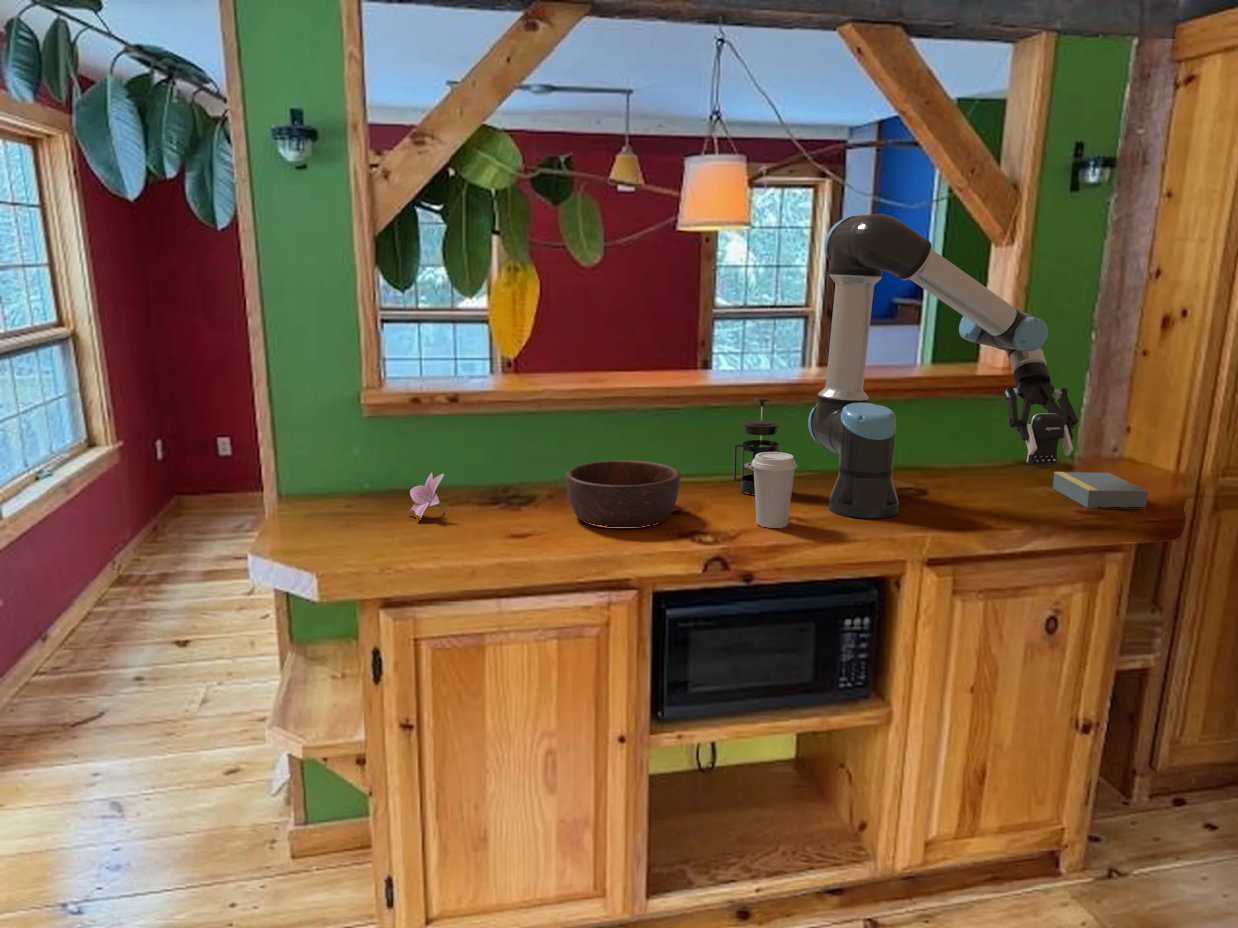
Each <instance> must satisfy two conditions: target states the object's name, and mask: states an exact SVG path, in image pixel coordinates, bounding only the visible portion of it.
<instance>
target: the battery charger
mask: <svg viewBox="0 0 1238 928" xmlns="http://www.w3.org/2000/svg"><path fill="white" fill-rule="evenodd" d="M1029 424H1031V426H1032V430H1033V433H1034V437H1035V441H1036V445H1037V449H1036V451H1035V452H1034V454H1033V455H1029V452H1028V448H1027V447H1026V448H1027V449H1026V457H1025V463H1027V464H1031V465H1035V466H1036V465H1037V466H1041V465H1043V466H1045V465H1047V466H1049V465H1057V464H1058V455H1057V454H1058V453H1057V451H1058V447H1059V446H1058V445H1059V441H1060V438H1063V435H1064V425H1065V421H1064V418H1063V417H1062V416H1060V415H1057V414H1053V413H1049V412H1048V413H1045V412H1044V413H1043V412H1042V413H1035V414H1034V415H1031V418H1030V421H1029Z"/></svg>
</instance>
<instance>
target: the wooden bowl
mask: <svg viewBox="0 0 1238 928" xmlns="http://www.w3.org/2000/svg"><path fill="white" fill-rule="evenodd" d="M565 483H566V491H567V496H568V500H569V503H570V506H571V508H572V510H573V513H574V514H575V516H576V517H577V518H578V519H579V520H580V521H581V520H582V521H585V522H587V523H591V524H595V525H602V526H607V527H642V526H647V525H653V524H656V523H660V522H662V521H664V520H665V521H667V520H668V518H670V515H671V514H672V512H673V510H674V509H675V505H676V503H677V499H678V495H679V491H680V490H679V489H680V483H681V472H680V471H679V470H678V469H677V468H675V467H674V466H671V465H668V464H664V463H660V462H653V461H647V460H646V461H645V460H631V459H629V460H628V459H626V460H625V459H624V460H621V459H620V460H619V459H617V460H613V459H612V460H602V461H595V462H594V461H593V462H587V463H583V464H579V465H576V466H574V467H572V468H570V469H568V470H567V471H566V473H565ZM582 521H581V522H582ZM665 521H664V522H665ZM662 523H663V522H662ZM660 524H661V523H660Z"/></svg>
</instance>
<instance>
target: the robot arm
mask: <svg viewBox="0 0 1238 928" xmlns="http://www.w3.org/2000/svg"><path fill="white" fill-rule="evenodd" d="M824 253H825V256H826V259H827V260H828V262H829V263H830V266H829V267H830V268H829V269H830V270H829V277H830V278H831V279H832V281H833V282H834V284H835V287H834V294H833V295H834V297H833V305H832V306H833V307H832V317H831V327H830V338H829V348H828V359H827V368H826V377H825V378H826V380H825V385H824V388H823V389H821V390H820V391H819V392H818V393H817V403H816V404H815V405H814V407H813V408H812V409H811V411H810V412H809V416H808V420H807V426H808V430H809V434H810V435H811V438H812V439H813V440H814V441H815V442H816V443H817V445H820V447H822V448H823V449H825V450H828V451H830V452H833V453H835V454H837V455H839V458H838V459H839V460H838V462H839V463H838V476H837V478H836V480H835V483H834V485H833V488H832V491H831V493H830V496H829V501H828V502H829V503H828V509H829V510H830V511H831V512H833V513H835V514H838V515H842V516H845V517H851V518H858V519H885V518H890V517H894V516H896V515H897V514H898V513H899V506H900V502H899V499H898V495H897V491H896V487H895V484H894V483H895V482H894V480H893V472H894V471H893V470H894V460H895V459H894V458H895V457H894V455H895V441H896V432H897V419H896V418H897V417H896V414H895V413H894V411H893V410H892V409H890V408H889V407H886V406H884V405H881V404H875V403H872V402H871V403H870V402H869V399H870V397H869V396H868V395H867V393H866V392H865V391H864V382H865V373H866V365H867V364H866V363H867V355H868V346H869V345H868V343H869V335H870V326H871V319H872V318H871V317H872V308H873V307H872V306H873V300H874V299H873V298H874V291H875V290H874V288H875V285H876V284H877V283H878V282H879V281H880V280H882V278H883V271H884V272H886V273H890V274H892V275H894V276H895V277H897V278H898V279H900V280H901V281H907V280H910V281H912V282H914V284H916V285H918V286H919V287H921V289H924V290H925V291H926V292H928V293H929V294H931V295H933V296H934V297H935V298H936V299H938V300H940V301H941V302H942V303H944V304H945V305H947V306H949V307H950V308H951V309H953V310H954V311H956V312H957V313H959V314H960V315H962V316H961V317H962V318H961V320H960V323H959V325H958V326H959V327H958V332H959V336H960V337H961V338H962V339H963V340H966V341H968V342H971V343H976V344H979V345H983V346H986V347H991V348H995V349H998V350H1001V351H1005V352H1006V353H1007V356H1008V360H1009V361H1008V362H1009V364H1010V368H1011V374H1012V376H1013V381H1014V385H1015V387H1012V386H1008V387H1007V389H1006V390H1005V391H1004V393H1003V395H1004V398H1005V399H1006V401H1007V402H1006V403H1007V413H1008V415H1007V416H1008V426H1009V427H1010V428H1016V431H1017V432H1018V433H1020V437H1021V440H1022V441H1023V442H1024V441H1025V444H1026V448H1028V452H1029V455H1033V454H1034V452H1035V451H1036V449H1037V445H1036V441H1035V437H1034V433H1033V430H1032V426H1031V424H1030V423H1028V420H1029V416H1030V413H1031V406H1032V405H1033V406H1034V405H1039V406H1042V407H1043V409H1044V410H1046V411H1047V412H1048V413H1053V414H1057V415H1060V416H1062V417H1063V418H1064V421H1065V425H1064V435H1063V438H1059V440H1060V441H1061V446H1062V450H1063V453H1064V456H1065V457H1068V456H1070V454H1071V453H1072V452H1073V451H1074V447H1073V443H1072V442H1073V441H1072V440H1073V438H1074V435H1073V434H1074V433H1073V430H1074V429H1075V427H1076V426H1077V425H1078V423H1079V420H1078V417H1077V414H1076V412H1075V410H1074V408H1073V406H1072V404H1071V401H1070V399H1069V397H1068V389H1067V388H1066V387H1062V388H1061V389H1058V388H1055V387H1054V385H1053V384H1052V382H1051V376H1050V373H1049V372H1050V371H1049V369H1048V365H1047V360H1046V358H1045V354H1044V350H1043V348H1042V346H1044V344H1045V343H1046V341H1047V339H1048V335H1049V330H1048V325H1047V323H1046V322H1045V321H1044V320H1043V319H1042V318H1039V317H1036V316H1032V315H1031V314H1029V313H1026V312H1023V311H1020V310H1019V309H1017V308H1016V307H1014V306H1013V305H1012V304H1010V303H1008V302H1007V301H1006V300H1004V299H1003V298H1001V297H1000V296H999V295H997V294H996V293H995V292H994V291H992V290H990V289H989V288H988V287H986V286H984V285H983V284H982V283H981V282H979V281H977V280H976V279H975V278H974V277H972V276H971V275H969V274H968V273H966V272H965V271H963V270H962V269H961V268H959V267H958V266H957V265H955V264H954V263H952V262H951V261H949V260H948V259H947V258H945V257H944V256H942V255H941V254H940V253H938V252H937V251H935V250H934V249H933V243H932V242H931V241H930V240H929V239H927V238H926V237H924V236H923V235H922V234H920V233H919V232H917V231H916V230H914V229H913V228H912V227H910V225H907V224H905V222H903V221H902V220H899V219H897V218H895V217H893V216H892V215H887V214H884V213H874V214H873V213H872V214H864V215H863V214H861V215H859V214H858V215H852V216H848V217H845V218H843V219H840V220H839V221H837V222H836V223H835V224H834V225H832V227H831V228H830V229H829V231H828V232H827V235H826V236H825V241H824ZM1053 395H1054V396H1053ZM1017 396H1018V397H1020V398H1021V399H1022V400H1023V401H1022V405H1021V406H1022V407H1021V412H1020V416H1019V409H1018V400H1017V399H1018V398H1017ZM1056 400H1057V402H1056Z"/></svg>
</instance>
